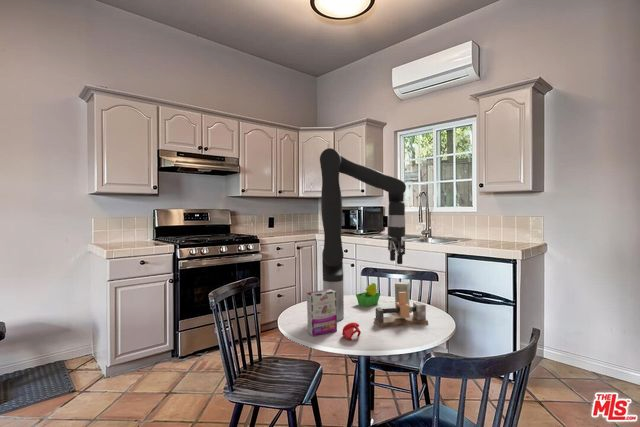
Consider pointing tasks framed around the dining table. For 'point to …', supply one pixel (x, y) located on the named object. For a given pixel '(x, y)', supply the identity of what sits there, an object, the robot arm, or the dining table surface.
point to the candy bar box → (321, 312)
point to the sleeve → (403, 306)
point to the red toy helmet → (351, 330)
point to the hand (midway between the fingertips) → (396, 262)
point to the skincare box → (401, 288)
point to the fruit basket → (368, 296)
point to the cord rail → (395, 321)
